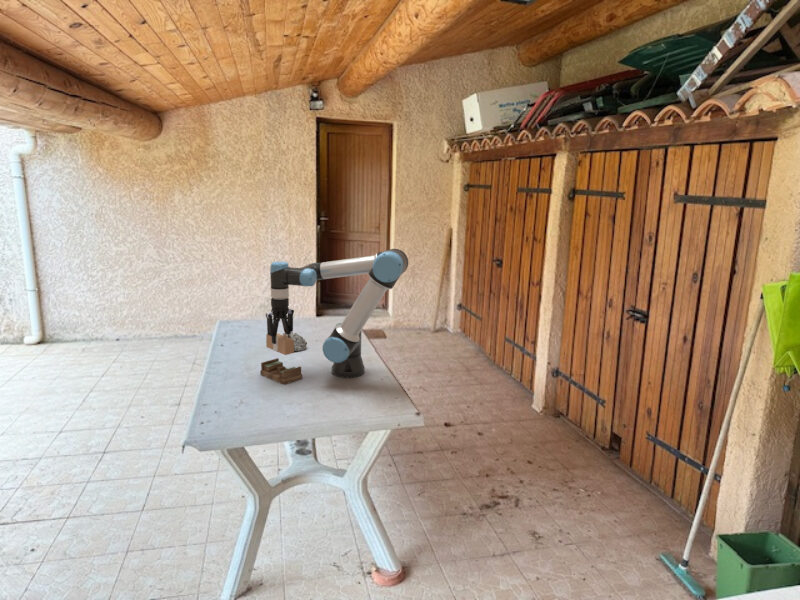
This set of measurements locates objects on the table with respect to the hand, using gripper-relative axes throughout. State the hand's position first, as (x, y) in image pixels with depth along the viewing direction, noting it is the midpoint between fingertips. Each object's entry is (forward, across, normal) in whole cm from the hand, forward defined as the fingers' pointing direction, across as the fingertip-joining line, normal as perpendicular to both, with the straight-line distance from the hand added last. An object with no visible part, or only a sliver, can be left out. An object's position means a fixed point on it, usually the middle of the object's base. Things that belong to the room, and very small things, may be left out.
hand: (280, 348), depth 226 cm
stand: (+13, 0, 0) cm, 13 cm away
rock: (+13, -29, -27) cm, 42 cm away
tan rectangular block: (+1, 0, -1) cm, 1 cm away
